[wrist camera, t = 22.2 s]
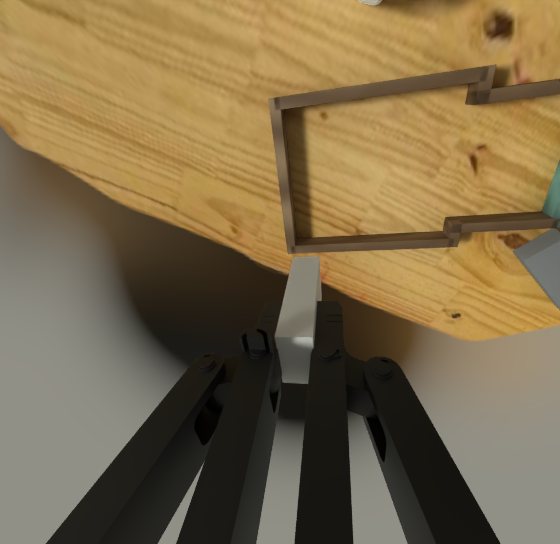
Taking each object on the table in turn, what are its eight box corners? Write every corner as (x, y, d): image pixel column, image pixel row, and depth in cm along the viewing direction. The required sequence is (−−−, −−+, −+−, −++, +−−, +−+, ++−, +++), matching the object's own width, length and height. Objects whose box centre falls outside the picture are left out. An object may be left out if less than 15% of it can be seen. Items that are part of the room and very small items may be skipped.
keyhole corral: (272, 98, 34) (268, 98, 32) (613, 47, 27) (637, 43, 25) (289, 246, 44) (287, 253, 41) (543, 234, 37) (556, 242, 35)
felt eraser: (592, 284, 40) (610, 297, 37) (552, 303, 42) (566, 316, 40) (552, 226, 37) (568, 236, 34) (511, 250, 39) (523, 260, 37)
